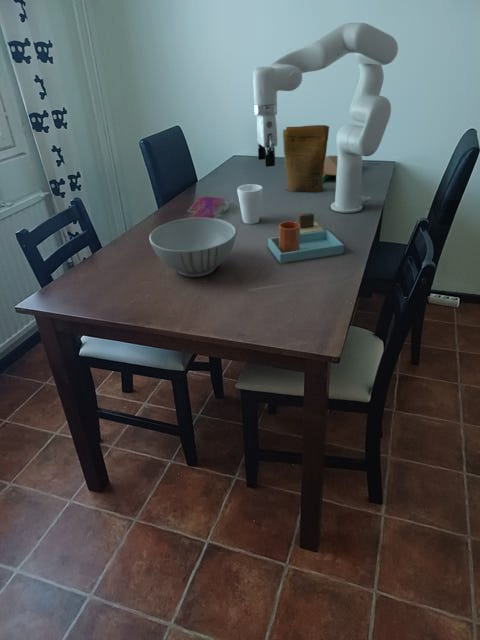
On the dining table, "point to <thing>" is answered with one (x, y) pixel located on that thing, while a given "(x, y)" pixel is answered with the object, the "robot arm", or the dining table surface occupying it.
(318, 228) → the switch panel
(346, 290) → the dining table surface
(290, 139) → the pancake mix bag
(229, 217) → the dining table surface
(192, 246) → the decorative bowl
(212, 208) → the pink plastic packet
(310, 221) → the brown switch lever
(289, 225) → the cup
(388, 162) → the dining table surface
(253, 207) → the foam cup
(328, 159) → the house
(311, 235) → the blue tray
